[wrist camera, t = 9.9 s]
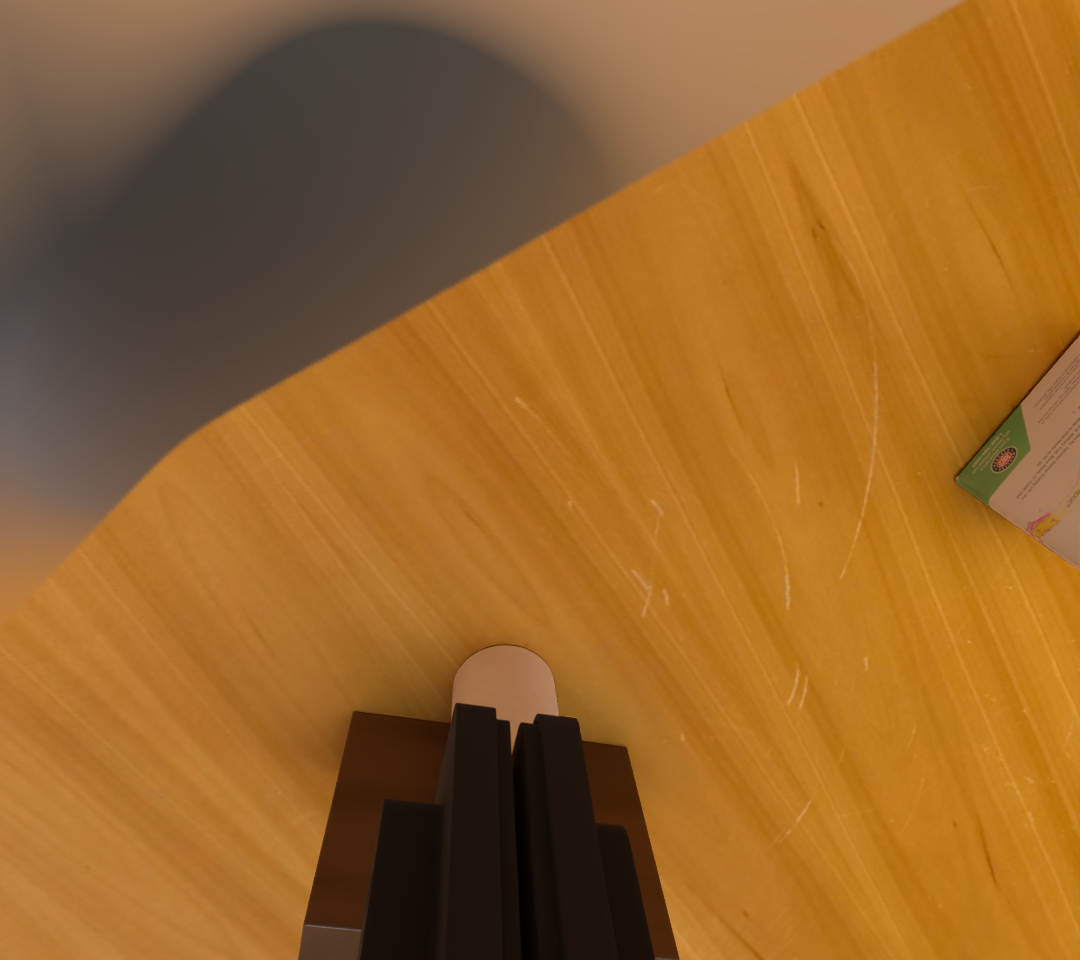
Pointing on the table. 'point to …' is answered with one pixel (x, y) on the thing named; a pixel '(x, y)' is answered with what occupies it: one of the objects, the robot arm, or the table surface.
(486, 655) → the paper roll
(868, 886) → the table surface
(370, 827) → the wooden block
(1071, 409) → the ink box
